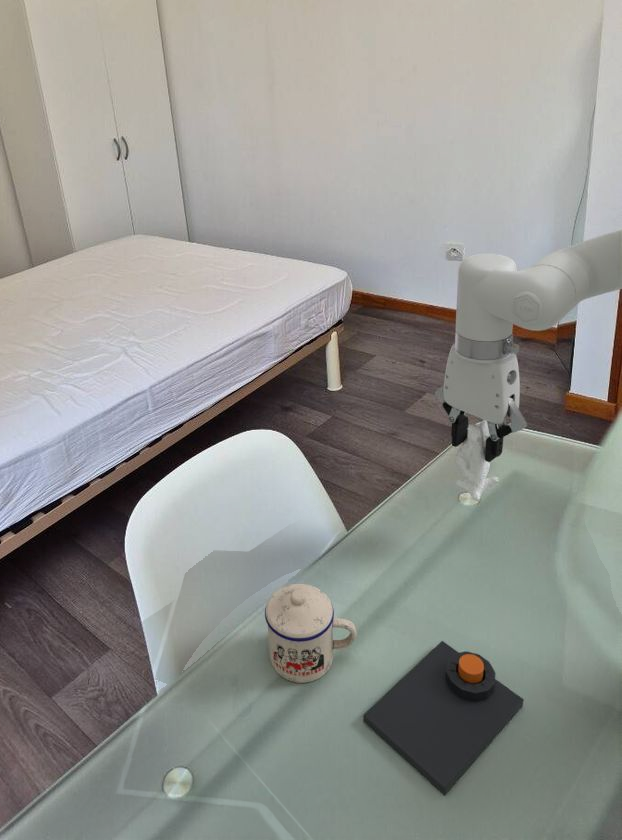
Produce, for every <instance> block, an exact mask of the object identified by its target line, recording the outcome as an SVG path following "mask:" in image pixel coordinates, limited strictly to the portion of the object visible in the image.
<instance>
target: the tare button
mask: <svg viewBox="0 0 622 840" xmlns="http://www.w3.org/2000/svg"><path fill="white" fill-rule="evenodd" d="M483 671H484V664H483V662H482V660H481V659H480V658H479V657H477V656H475V655H472V654H466V655H463V656H462V657H461V658H460V659H459V667H458V673H459V676H460V677H461V679H462V680H464V681H465V682H467V683H471V684H476V683H479V682H480V681H481V680H482V678H483Z"/></svg>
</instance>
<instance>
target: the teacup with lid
mask: <svg viewBox="0 0 622 840" xmlns="http://www.w3.org/2000/svg"><path fill="white" fill-rule="evenodd" d="M264 618H265V622H266V624H267V635H268V647H269V648H268V649H269V659H270V663H271V666H272V667H273V669H274V671H275V672H276V673H277V674H278V675H279V676H280V677H282V678H283V679H285V680H287V681H290V682H294V683H299V684H302V683H306V684H307V683H310V682H314V681H317V680H318V679H320V678H322V677H323V676H324V675H326V673H328V671H329V670H330V668H331V666H332V664H333V660H334V650H343V649H347V648H349V647H351V646H352V645H353V644H354V643H355V641H356V638H357V628H356V625H355V624H354V623H353V622H352V621H351V620H348V619H347V618H342V617H335V610H334V606H333V603H332V602H331V600H330V598H329V597H328V596H327V595H326V593H325V592H324V591H323V590H321V589H320V588H318V587H315V586H314V585H310V584H306V583H292V584H288V585H285V586H282V587H280V588H278V589H277V590H276V591H275V592H273V594H272V595H271V596H270V597H269V598H268V600H267V602H266V605H265V609H264ZM333 628H341V629H345V630H347V631H349V635H348V636H347V637H345V638H343V639H333V635H334V634H333V633H334V632H333Z"/></svg>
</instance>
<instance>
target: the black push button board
mask: <svg viewBox="0 0 622 840" xmlns="http://www.w3.org/2000/svg"><path fill="white" fill-rule="evenodd" d="M466 654H472V655H475V656H477V657H479V658H480V659H481V660H482V662H483V664H484V671H483V678H482V680H481V681H480V682H479V683H476V684H471V683H467V682H465V681H464V680H462V679H461V677H460V676H459V673H458V667H459V659H460V658H461V657H462V656H463V655H466ZM523 706H524V698H523V697H521V696H519V695H518V694H517V693H516V692H514V691H513V690H511V689H510V688H509V687H507V686H506V685H504V684H503V683H502V682H500V681H499V680H497V679H496V671H495V669H494V668H493V666H492V663H490V661H489V660H488V659H486V658H485V657H483V656H482V655H480V654H479V653H475V652H471V651H461V652H459V651H457V650H456V649H455V648H453V647H452V646H450V645H449V644H447V643H446V642H445V641H444V640H441V641H440V642H439V643H438V644H437V645H436V646H435V647H434V648H433V649H432V650H431V651H429V652H428V654H426V655H425V656H424V657H423V658H422V659H421V660H420V661H418V663H417V664H416V665H415V666H413V667H412V669H410V670H409V671H408V672H407V673H406V674H405V675H404V676H403V677H402V678H401V679H399V680H398V682H397V683H395V684H394V685H393V686H392V687H391V688H390V689H389V690H388V691H387V692H386V693H385V694H383V695H382V697H381V698H380V699H378V700H377V701H376V702H375V703H374V704H373V705H372V706H371V707H370V708H369V709H368V710H367V711H366V712H365V713H363V716H362V717H363V720H362V721H363V723H364V724H365V725H366V726H367V727H368V728H369V729H371V730H372V731H373V732H374V733H375V734H376V735H377V736H378V737H380V738H381V739H382V740H383V742H385V743H386V744H387V745H388V746H389V747H390V748H391V749H392V750H394V752H395V753H397V754H398V755H399V756H400V757H401V758H402V759H403V760H404V761H406V762H407V763H408V764H409V765H410V766H411V767H412V768H414V769H415V771H417V772H418V773H419V774H420V775H421V776H422V778H424V779H425V780H427V782H429V784H431V785H432V786H433V787H434V788H435V789H437V791H439V792H440V793H441V794H442V796H447V794H448V793H449V791H450V790H452V788H453V787H454V786H455V785H456V784H457V782H458V781H459V780H461V778H462V777H463V776H464V774H465V773H466V772H467V771H468V770H469V769H470V768H471V766H473V764H474V763H475V762H476V761H477V760H478V759H479V757H480V756H481V755H482V754H483V752H485V750H486V749H487V748H488V747H489V746H490V744H491V743H492V742H493V741H494V740H495V739H496V738H497V737H498V735H499V734H500V733H501V732H502V731H503V730H504V729H505V728H506V726H507V725H508V724H509V723H510V721H511V720H513V718H514V717H515V716H516V714H518V713H519V711H520V710H521V709H522V708H523Z"/></svg>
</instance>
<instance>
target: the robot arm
mask: <svg viewBox="0 0 622 840" xmlns="http://www.w3.org/2000/svg"><path fill="white" fill-rule="evenodd" d="M619 290H622V229H621V230H616V231H612V232H608V233H604V234H602V235H599V236H595V237H593V238H590V239H586V240H583V241H581V242H577V243H574V244H572V245H569V246H566V247H564V248H561V249H557V250H555V251H553V252H551V253H549V254H546V255H545V256H544V257H542V258H541V259H539V260H538V261H536V262H535V263H533V264H532V265H530V266H529V267H527V268H524V269H521V270H518V267H517V263H516V262H515V261H514V260H513V259H512V258H510V257H509V256H507V255H505V254H504V255H503V254H499V253H488V252H487V253H484V252H483V253H476V254H472V255H469V256H467V257H466V258H464V259H463V260H462V261H461V262H460V264H459V266H458V271H457V289H456V307H455V311H456V312H455V314H456V315H455V331H454V343H453V344H452V345H451V348H450V350H449V354H448V357H447V360H446V366H445V372H444V380H443V384H442V385H441V386H440V387H438V388H437V389H436V390H435V391H434V396H435V397H436V398H437V400H438V401H439V402H440V404H442V408H443V410H444V411H445V412H446V414H447V415H448V418H447V419H448V421H449V422H450V423H451V430H450V432H451V433H450V434H451V446H452V447H454V448H456V447H458V446H459V447H460V446H461V445H462V444H463V442H464V440H465V439H466V438H468V429H467V428H468V426H469V422H470V421H469V416H466V414H469V415H471V416H473V417H475V418H479V419H481V420H486V421H487V425H488V429H489V434H490V437H488V438H487V439H486V448H485V460H486V461H487V462H490V463H491V461H493V460H494V459H496V458H498V457H500V456H501V455H502V453H503V448H504V447H503V446H504V438H505V437H507V436H509V435H510V434H513V433H517V432H520V431H522V430H523V429H525V428H526V427H527V426H528V423H527V421H526V419H525V417H524V416H523V414H522V412H521V410H520V397H521V396H520V394H521V390H520V389H521V381H520V369H519V368H520V367H519V362H518V356H517V354H519V352H520V349H521V348H520V345H519V344H516V343H515V342H514V335H513V330H514V326H517V327H519V328H522V329H525V330H529V331H537V332H538V331H546V330H549V329H551V328H552V327H555V326H556V325H557V324H558V323H560V322H561V321H562V320H563V319H564V318H565V317H566V316H567V315H568V314H569V313H570V312H571V311H572V310H573V309H574V308H575V307H576V306H577V305H578V304H580V303H581V302H582V301H585V300H587V299H590V298H593V297H597V296H600V295H605V294H607V293H611V292H615V291H619ZM506 416H507V417H508V418H509V420H510V422H508V423H507V419H506Z"/></svg>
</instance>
